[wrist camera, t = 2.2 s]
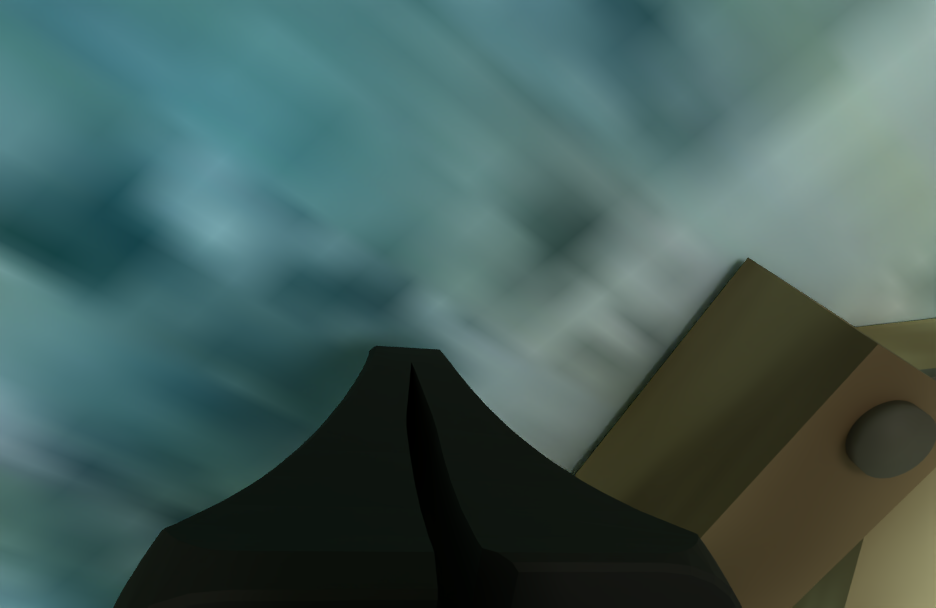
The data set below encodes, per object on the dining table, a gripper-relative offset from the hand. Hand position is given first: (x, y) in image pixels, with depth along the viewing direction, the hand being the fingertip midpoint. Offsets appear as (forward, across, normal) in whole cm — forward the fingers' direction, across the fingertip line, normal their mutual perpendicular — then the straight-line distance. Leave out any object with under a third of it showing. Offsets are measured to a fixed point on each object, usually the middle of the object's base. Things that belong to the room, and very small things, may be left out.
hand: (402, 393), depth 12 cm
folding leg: (+2, -7, +2) cm, 7 cm away
